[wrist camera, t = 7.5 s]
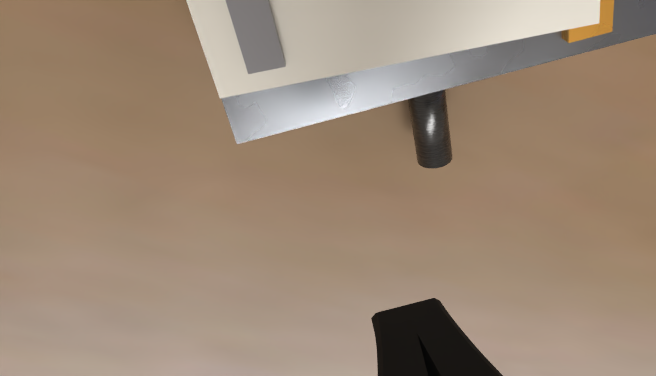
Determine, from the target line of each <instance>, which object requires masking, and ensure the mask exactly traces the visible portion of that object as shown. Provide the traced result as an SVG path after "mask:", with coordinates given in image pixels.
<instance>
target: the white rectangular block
mask: <svg viewBox="0 0 656 376" xmlns="http://www.w3.org/2000/svg"><path fill="white" fill-rule="evenodd" d="M186 1H187V4H188V7H189V10H190V13H191V16H192V19H193V22H194V24H195V27H196V30H197V33H198V36H199V39H200V42H201V45H202V48H203V51H204V53H205V56H206V59H207V62H208V65H209V68H210V71H211V74H212V77H213V80H214V82H215V85H216V88H217V91H218V94H219V97H220V98H225V97H230V96H235V95H240V94H245V93H250V92H255V91H260V90H266V89H271V88H276V87H281V86H286V85H291V84H296V83H301V82H306V81H311V80H316V79H321V78H326V77H331V76H336V75H341V74H346V73H351V72H356V71H361V70H366V69H371V68H376V67H381V66H386V65H392V64H397V63H402V62H407V61H412V60H417V59H422V58H427V57H432V56H437V55H442V54H447V53H452V52H457V51H462V50H467V49H472V48H477V47H482V46H487V45H492V44H497V43H502V42H507V41H513V40H518V39H523V38H528V37H533V36H538V35H543V34H548V33H553V32H558V31H563V30H568V29H573V28H578V27H583V26H588V25H593V24H598V23H599V19H600V0H186Z"/></svg>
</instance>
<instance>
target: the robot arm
mask: <svg viewBox="0 0 656 376" xmlns="http://www.w3.org/2000/svg"><path fill="white" fill-rule="evenodd" d="M372 323H373V327H374V332H375V337H376V345H377V361H378V376H503V375H502V374H501V373H500V372H499V371H498V370H497V369H496V368H495V367H494V366H493V365H492V364H491V363H490V362H489V361H488V360H487V359H486V358H485V357H484V355H483V354H482V353H481V352H480V351H479V350H478V349H477V348H476V346H475V345H474V344H473V343H472V342H471V341H470V339H469V338H468V337H467V336H466V335H465V334H464V332H463V331H462V330H461V329H460V327H459V326H458V325H457V324H456V322H455V321H454V320H453V319H452V317H451V316H450V315H449V313H448V312H447V310H446V309H445V308H444V306H443V305H442V303H441V302H440V301H439V300H437V299H435V298H432V299H428V300H424V301H420V302H417V303H413V304H409V305H405V306H401V307H397V308H393V309H389V310H385V311H381V312H378V313H376V314H375V315H374V316H373V317H372Z"/></svg>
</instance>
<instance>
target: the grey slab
mask: <svg viewBox="0 0 656 376" xmlns="http://www.w3.org/2000/svg"><path fill="white" fill-rule="evenodd" d="M653 34H656V0H600V19H599V23H598V24H593V25H588V26H583V27H578V28H573V29H568V30H563V31H558V32H553V33H548V34H543V35H538V36H533V37H528V38H523V39H518V40H513V41H507V42H502V43H497V44H492V45H487V46H482V47H477V48H472V49H467V50H462V51H457V52H452V53H447V54H442V55H437V56H432V57H427V58H422V59H417V60H412V61H407V62H402V63H397V64H392V65H386V66H381V67H376V68H371V69H366V70H361V71H356V72H351V73H346V74H341V75H336V76H331V77H326V78H321V79H316V80H311V81H306V82H301V83H296V84H291V85H286V86H281V87H276V88H271V89H266V90H260V91H255V92H250V93H245V94H240V95H235V96H230V97H225V98H221V99H222V102H223V105H224V108H225V111H226V114H227V116H228V119H229V122H230V125H231V128H232V131H233V134H234V137H235V140H236V143H237V144H239V143H243V142H247V141H251V140H254V139H258V138H262V137H266V136H270V135H273V134H277V133H281V132H285V131H289V130H292V129H296V128H300V127H304V126H308V125H311V124H315V123H319V122H323V121H327V120H330V119H334V118H338V117H342V116H346V115H349V114H353V113H357V112H361V111H365V110H368V109H372V108H376V107H380V106H384V105H387V104H391V103H395V102H399V101H403V100H406V99H408V101H409V107H410V114H411V121H412V127H413V134H414V140H415V147H416V154H417V160H418V163H419V165H421V166H422V167H425V168H439V167H443V166H445V165H447V164H448V163H449V162H450V161H451V160H452V149H451V140H450V131H449V123H448V114H447V105H446V96H445V89H448V88H452V87H456V86H459V85H463V84H467V83H471V82H475V81H478V80H482V79H486V78H490V77H494V76H497V75H501V74H505V73H509V72H513V71H516V70H520V69H524V68H528V67H532V66H535V65H539V64H543V63H547V62H551V61H554V60H558V59H562V58H566V57H570V56H573V55H577V54H581V53H585V52H589V51H592V50H596V49H600V48H604V47H607V46H611V45H615V44H619V43H623V42H626V41H630V40H634V39H638V38H642V37H645V36H649V35H653Z"/></svg>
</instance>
